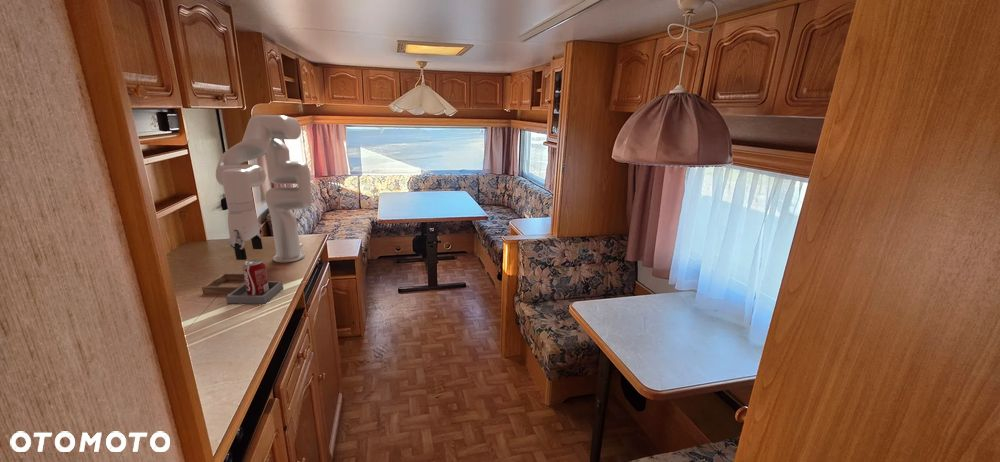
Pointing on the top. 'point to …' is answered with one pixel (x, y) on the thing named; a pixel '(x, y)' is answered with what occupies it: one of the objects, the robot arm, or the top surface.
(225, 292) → the wooden tray
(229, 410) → the top surface
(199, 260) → the top surface
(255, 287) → the soda can
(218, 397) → the top surface
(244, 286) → the grey tray
